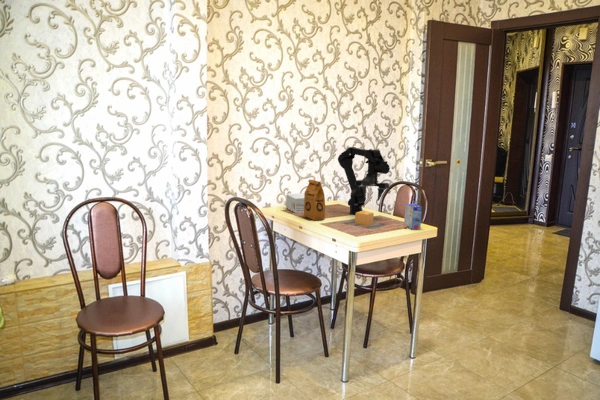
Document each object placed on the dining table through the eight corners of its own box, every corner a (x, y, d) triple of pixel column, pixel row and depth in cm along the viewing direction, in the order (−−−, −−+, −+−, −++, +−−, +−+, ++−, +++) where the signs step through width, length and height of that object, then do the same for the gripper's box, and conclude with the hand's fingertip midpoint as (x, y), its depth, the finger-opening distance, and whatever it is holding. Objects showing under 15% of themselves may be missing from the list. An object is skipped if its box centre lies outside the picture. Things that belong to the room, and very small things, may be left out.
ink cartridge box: (421, 229, 235) (423, 202, 233) (411, 229, 234) (413, 202, 232) (412, 225, 245) (414, 199, 243) (403, 225, 244) (405, 199, 241)
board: (340, 225, 240) (340, 223, 240) (355, 220, 253) (355, 218, 252) (373, 231, 228) (373, 229, 228) (387, 226, 241) (387, 224, 241)
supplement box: (285, 208, 284) (286, 193, 282) (304, 207, 289) (305, 193, 287) (294, 213, 268) (295, 198, 267) (314, 212, 273) (315, 197, 272)
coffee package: (312, 221, 247) (313, 182, 244) (301, 217, 258) (302, 179, 254) (327, 220, 252) (329, 181, 248) (316, 215, 263) (317, 178, 259)
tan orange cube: (355, 223, 240) (355, 212, 239) (361, 221, 245) (362, 210, 244) (366, 225, 235) (367, 214, 234) (372, 223, 241) (373, 212, 240)
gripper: (351, 171, 250) (349, 198, 253) (381, 174, 239) (379, 203, 242) (361, 170, 259) (359, 196, 262) (390, 173, 248) (388, 200, 251)
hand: (371, 199), depth 254 cm, fingers open, 9 cm apart
